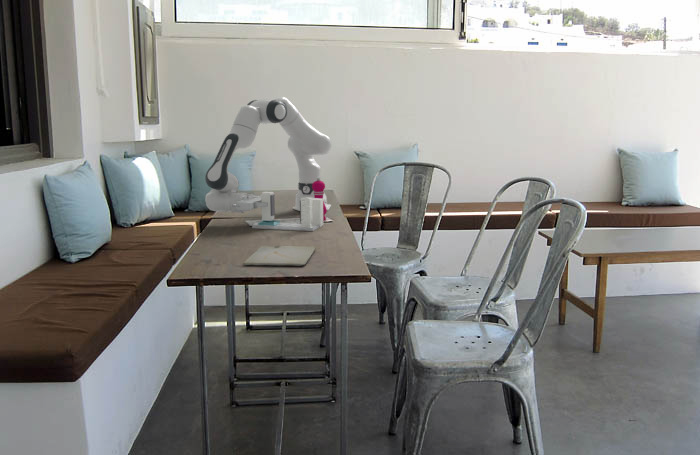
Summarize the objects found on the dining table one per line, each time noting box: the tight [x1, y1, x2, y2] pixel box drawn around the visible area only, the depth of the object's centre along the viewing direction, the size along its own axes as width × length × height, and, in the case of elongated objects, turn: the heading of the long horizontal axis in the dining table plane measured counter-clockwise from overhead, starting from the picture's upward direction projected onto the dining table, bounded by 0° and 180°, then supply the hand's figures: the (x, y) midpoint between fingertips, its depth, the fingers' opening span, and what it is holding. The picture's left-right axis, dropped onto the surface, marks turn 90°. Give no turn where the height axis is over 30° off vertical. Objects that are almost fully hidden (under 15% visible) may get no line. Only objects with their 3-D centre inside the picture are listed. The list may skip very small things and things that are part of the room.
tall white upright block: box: [260, 191, 276, 221], centre depth 271 cm, size 4×5×12 cm
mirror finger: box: [313, 198, 324, 228], centre depth 274 cm, size 4×5×12 cm
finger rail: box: [251, 197, 320, 232], centre depth 270 cm, size 8×28×14 cm, turn 74°
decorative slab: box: [243, 245, 317, 267], centre depth 217 cm, size 27×21×2 cm
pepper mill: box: [312, 177, 328, 222], centre depth 288 cm, size 7×7×20 cm
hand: (269, 203), depth 271 cm, fingers closed on tall white upright block, 4 cm apart
